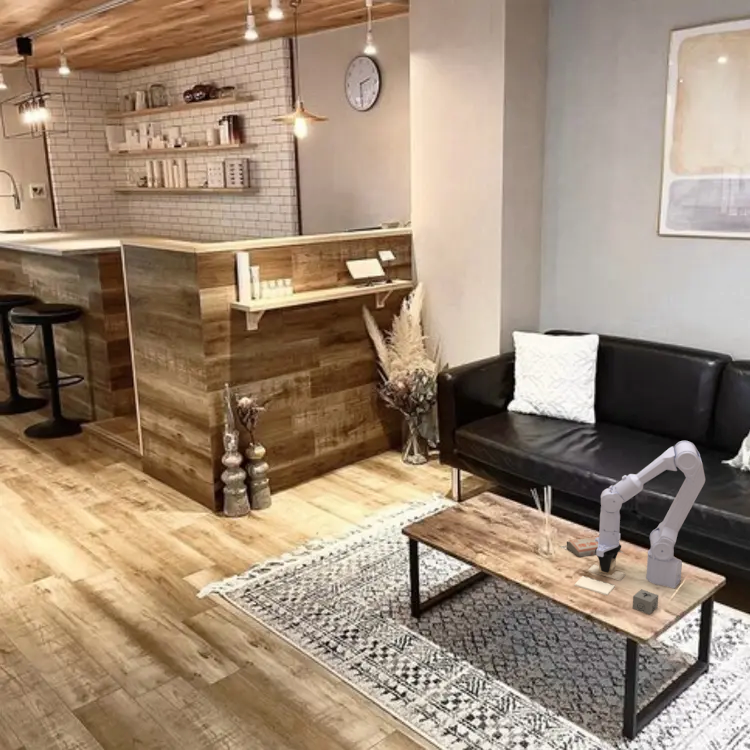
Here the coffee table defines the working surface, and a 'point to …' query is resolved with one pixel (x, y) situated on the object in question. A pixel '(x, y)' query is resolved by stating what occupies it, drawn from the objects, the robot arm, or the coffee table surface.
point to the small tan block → (611, 573)
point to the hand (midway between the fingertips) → (607, 569)
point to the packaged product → (583, 546)
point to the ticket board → (594, 585)
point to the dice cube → (645, 601)
